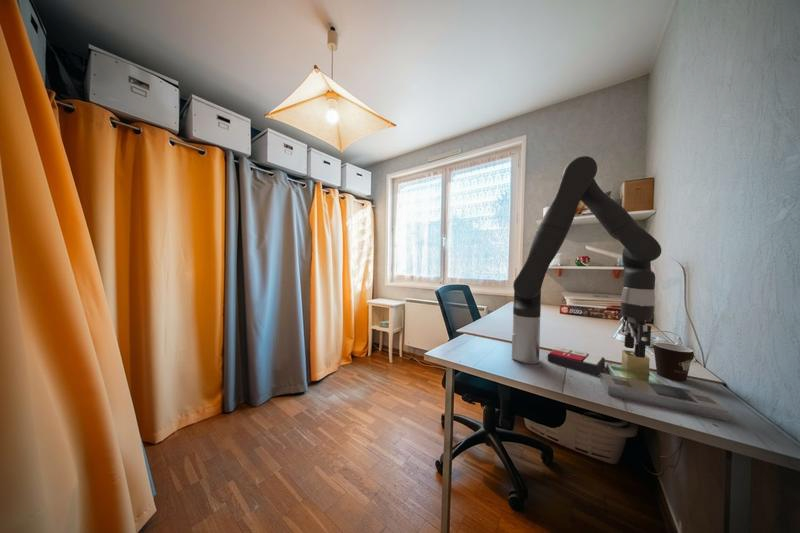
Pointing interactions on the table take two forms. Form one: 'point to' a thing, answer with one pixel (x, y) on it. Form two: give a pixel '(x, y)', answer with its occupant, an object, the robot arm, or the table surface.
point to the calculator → (577, 360)
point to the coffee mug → (672, 361)
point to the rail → (649, 394)
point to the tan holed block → (635, 366)
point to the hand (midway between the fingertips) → (633, 352)
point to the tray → (617, 372)
